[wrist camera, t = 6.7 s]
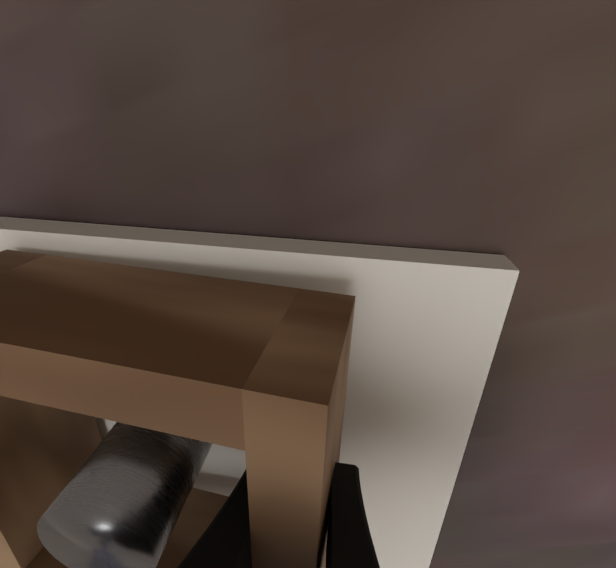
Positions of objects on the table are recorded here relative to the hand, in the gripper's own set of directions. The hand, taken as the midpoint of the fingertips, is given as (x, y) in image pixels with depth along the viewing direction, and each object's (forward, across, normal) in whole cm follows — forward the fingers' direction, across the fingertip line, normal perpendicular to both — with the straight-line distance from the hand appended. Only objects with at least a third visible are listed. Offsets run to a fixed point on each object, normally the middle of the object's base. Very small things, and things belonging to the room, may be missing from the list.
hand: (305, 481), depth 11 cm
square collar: (+2, +5, 0) cm, 5 cm away
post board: (+4, +5, +6) cm, 9 cm away
